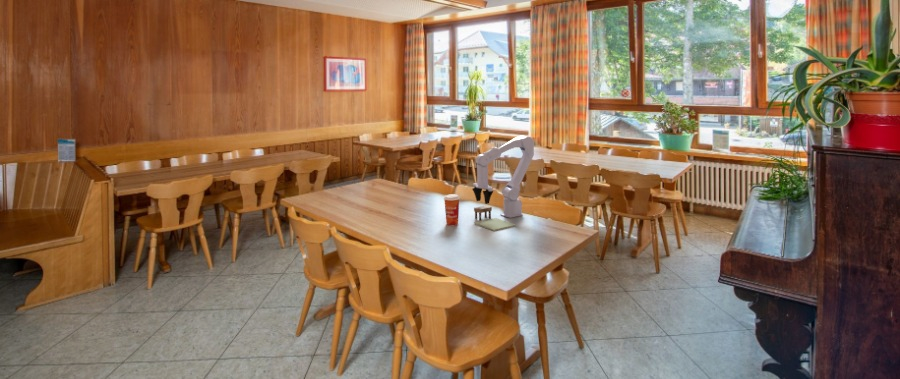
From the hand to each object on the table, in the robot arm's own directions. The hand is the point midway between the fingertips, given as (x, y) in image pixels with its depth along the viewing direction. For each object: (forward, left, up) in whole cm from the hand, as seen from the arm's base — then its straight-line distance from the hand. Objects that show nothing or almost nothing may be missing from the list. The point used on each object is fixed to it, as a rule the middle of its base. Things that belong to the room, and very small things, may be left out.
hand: (482, 202), depth 256 cm
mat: (+3, +14, -9) cm, 17 cm away
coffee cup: (+19, -1, -9) cm, 21 cm away
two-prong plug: (0, 0, -9) cm, 9 cm away
